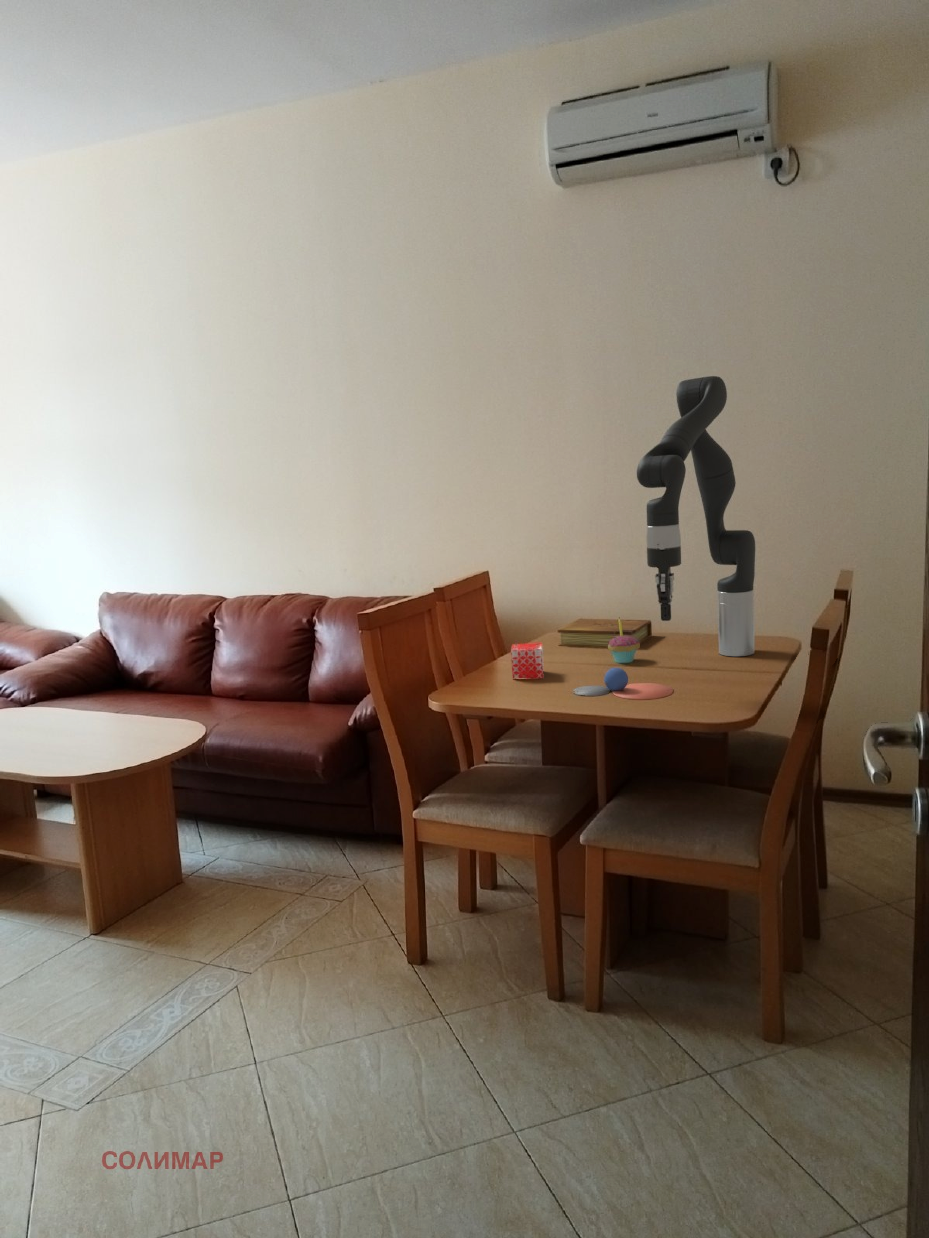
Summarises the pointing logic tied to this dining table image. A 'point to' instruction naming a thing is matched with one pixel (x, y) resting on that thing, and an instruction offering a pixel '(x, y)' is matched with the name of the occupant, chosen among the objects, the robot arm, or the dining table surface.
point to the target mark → (644, 691)
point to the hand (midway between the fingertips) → (666, 620)
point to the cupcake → (623, 647)
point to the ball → (616, 679)
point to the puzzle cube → (527, 660)
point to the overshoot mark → (591, 690)
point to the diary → (602, 632)
